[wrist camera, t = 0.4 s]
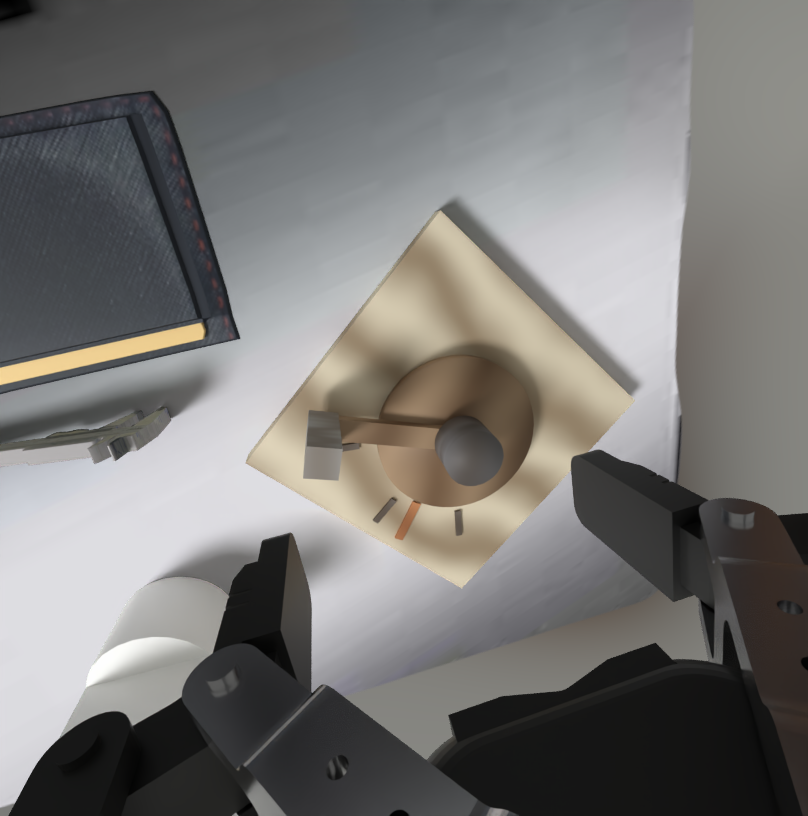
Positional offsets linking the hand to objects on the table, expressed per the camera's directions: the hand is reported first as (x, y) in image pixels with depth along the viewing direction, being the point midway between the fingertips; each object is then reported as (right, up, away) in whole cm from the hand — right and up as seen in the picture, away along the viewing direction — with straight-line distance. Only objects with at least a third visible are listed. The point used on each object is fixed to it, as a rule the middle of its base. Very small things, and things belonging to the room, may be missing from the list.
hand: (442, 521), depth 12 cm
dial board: (+2, +2, +23) cm, 23 cm away
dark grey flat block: (-23, +12, +15) cm, 31 cm away
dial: (0, +2, +21) cm, 21 cm away
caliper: (-28, +1, +18) cm, 33 cm away
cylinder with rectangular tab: (-20, -15, +25) cm, 35 cm away
